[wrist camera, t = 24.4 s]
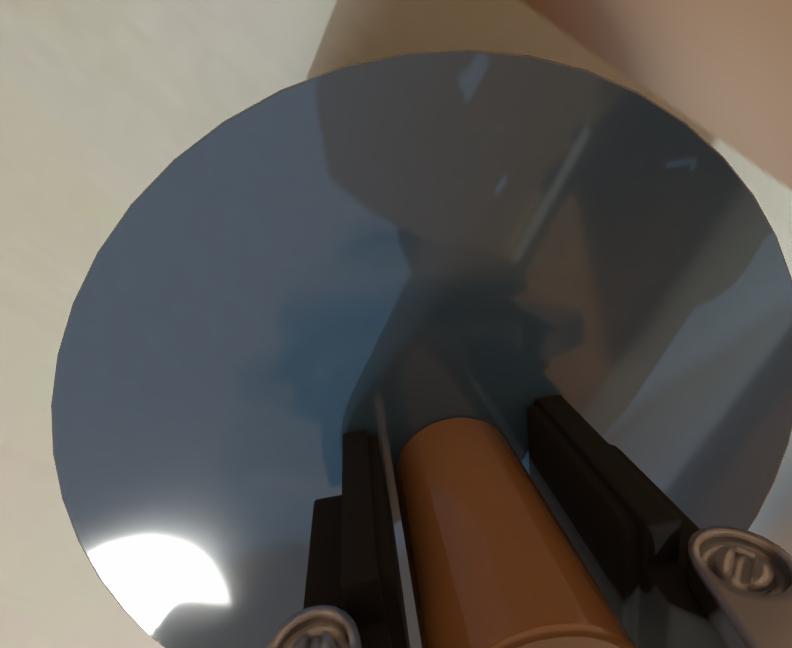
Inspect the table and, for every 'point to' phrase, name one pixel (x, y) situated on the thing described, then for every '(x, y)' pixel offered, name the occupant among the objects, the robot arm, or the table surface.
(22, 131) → the table surface
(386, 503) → the robot arm
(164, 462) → the lid
